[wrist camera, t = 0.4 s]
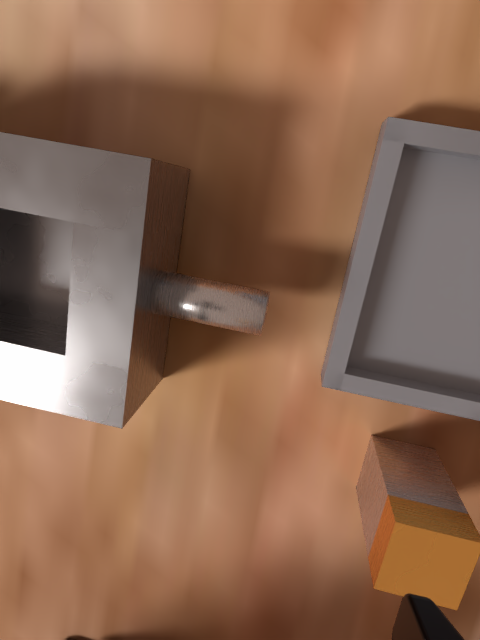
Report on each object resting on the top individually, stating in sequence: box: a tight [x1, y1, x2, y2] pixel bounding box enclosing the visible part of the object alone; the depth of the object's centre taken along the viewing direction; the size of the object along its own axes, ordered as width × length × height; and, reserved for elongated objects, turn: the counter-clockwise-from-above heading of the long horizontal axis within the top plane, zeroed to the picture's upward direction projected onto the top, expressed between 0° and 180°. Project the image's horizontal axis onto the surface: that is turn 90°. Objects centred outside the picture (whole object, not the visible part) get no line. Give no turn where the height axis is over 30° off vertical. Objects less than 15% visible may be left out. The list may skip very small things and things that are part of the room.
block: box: [356, 435, 480, 610], centre depth 18 cm, size 3×3×6 cm
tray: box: [321, 117, 480, 421], centre depth 18 cm, size 11×9×1 cm
